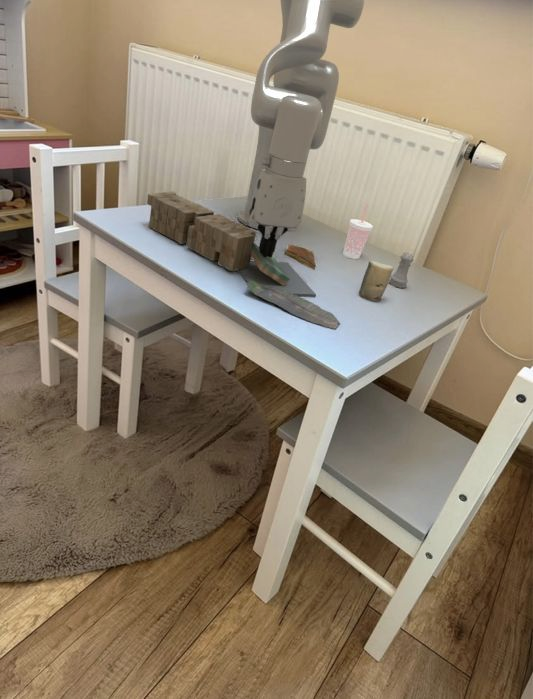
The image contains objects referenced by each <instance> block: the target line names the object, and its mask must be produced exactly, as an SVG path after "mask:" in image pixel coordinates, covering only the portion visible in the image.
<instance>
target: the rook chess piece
mask: <svg viewBox="0 0 533 699" xmlns="http://www.w3.org/2000/svg"><path fill="white" fill-rule="evenodd" d="M412 262H414V255H413V254H411V253H409V252H403V253H402V255H401V256H400V261H399V265H398V267H397V269H396V270H395V272H393V274H391V277H390V280H389V284H390V285H391V286H393V287H395V288H398V289H405V288H406V287H407V284H408V283H409V282H408V281H409V280H408V272H409V269H410V267H411V263H412Z"/></svg>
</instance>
